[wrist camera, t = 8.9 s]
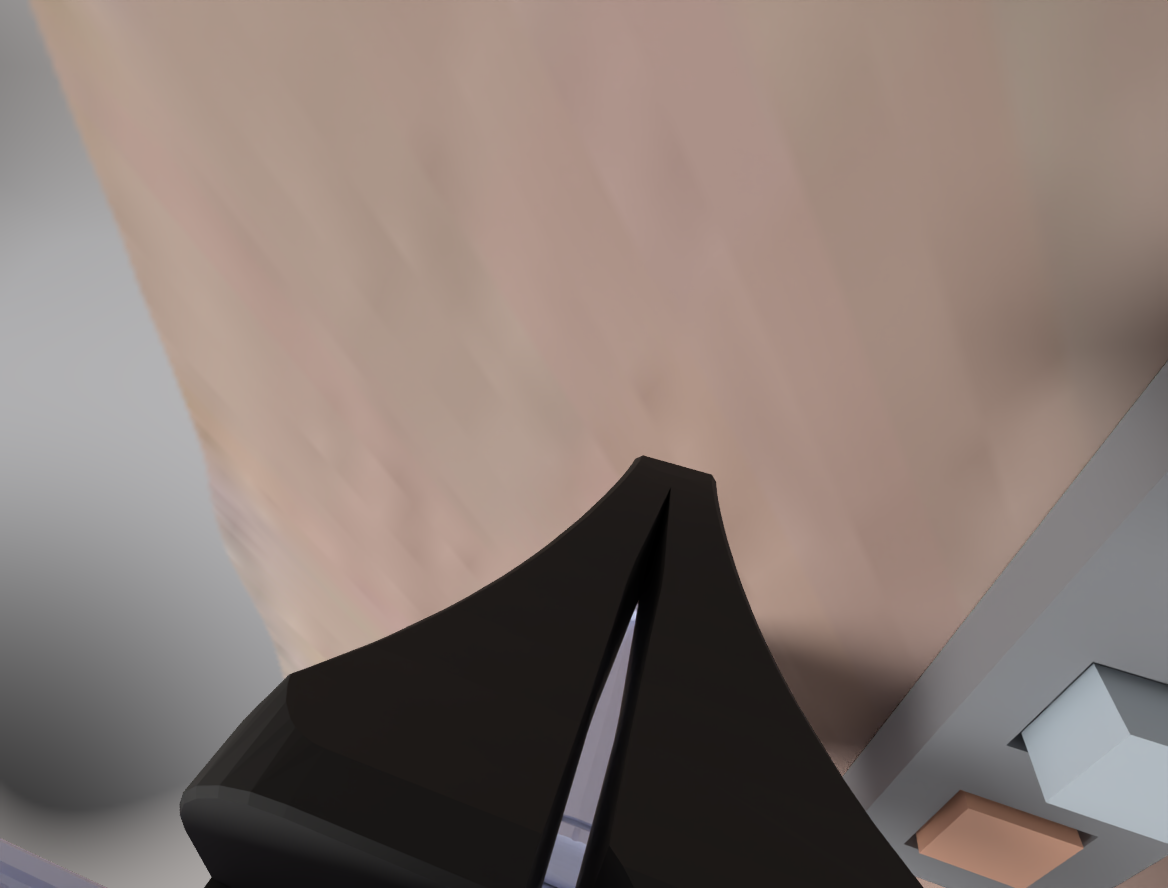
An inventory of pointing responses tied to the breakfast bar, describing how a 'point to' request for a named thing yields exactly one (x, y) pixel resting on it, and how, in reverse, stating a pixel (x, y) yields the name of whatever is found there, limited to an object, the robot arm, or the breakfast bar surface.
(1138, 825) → the slate key
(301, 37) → the breakfast bar surface
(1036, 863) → the terracotta key
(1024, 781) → the key panel
